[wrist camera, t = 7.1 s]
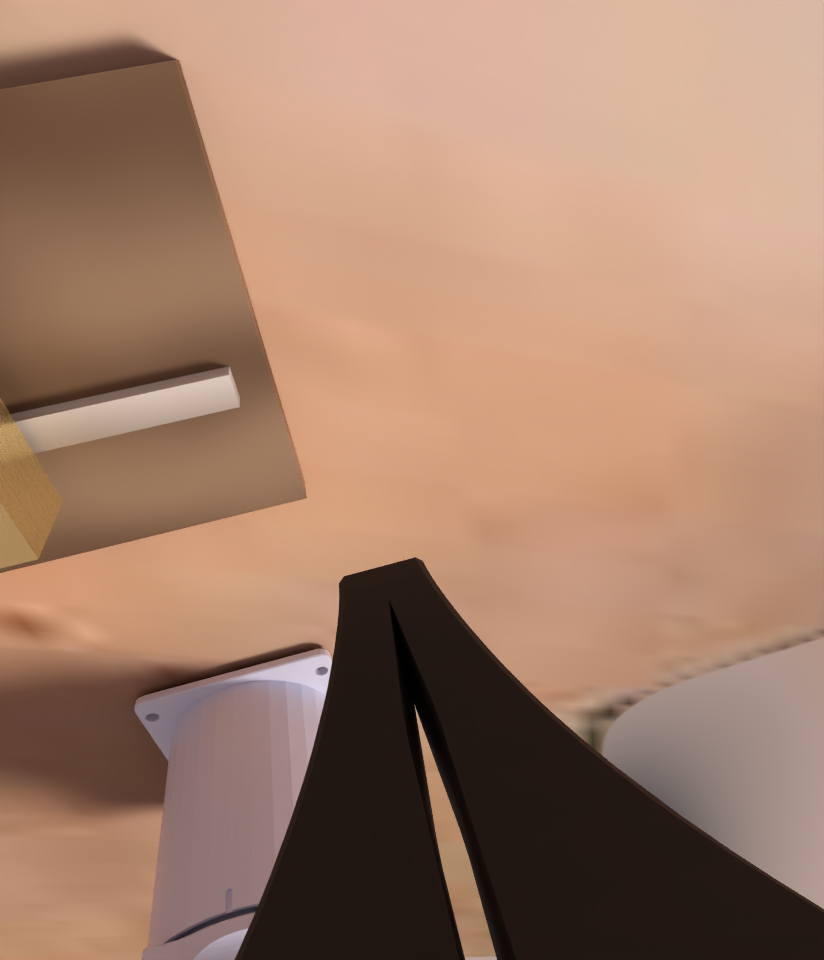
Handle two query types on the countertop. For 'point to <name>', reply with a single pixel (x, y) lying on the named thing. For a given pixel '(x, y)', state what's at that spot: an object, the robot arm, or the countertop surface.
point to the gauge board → (130, 315)
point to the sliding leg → (22, 497)
